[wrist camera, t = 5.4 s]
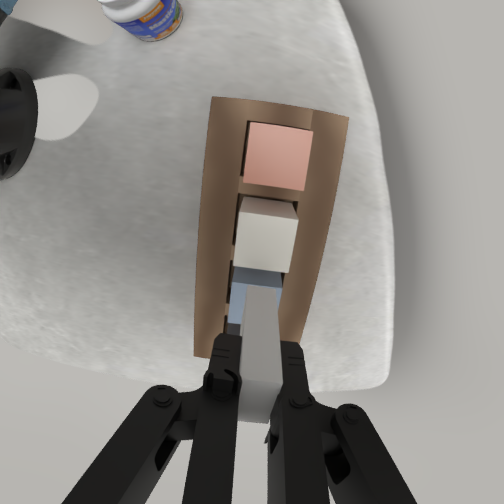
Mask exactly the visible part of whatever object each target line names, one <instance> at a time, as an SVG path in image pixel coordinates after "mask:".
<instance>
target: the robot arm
mask: <svg viewBox="0 0 504 504" xmlns="http://www.w3.org/2000/svg"><path fill="white" fill-rule="evenodd" d="M17 1H18V0H0V26H1V24H2V23H3V21H4V20H5V18H6V17H7V15H10V14H11V13H12V11H13V7H14V5H15V4H16V2H17ZM37 118H38V100H37V93H36V89H35V86H34V83H33V81H32V79H31V78H30V76H29V75H28V74H27V73H26V72H25V71H23V70H20V69H12V68H3V69H0V181H1V180H4V179H7V178H9V177H11V176H13V175H14V174H15V173H16V172H17V171H18V170H19V169H20V168H21V167H22V165H23V164H24V162H25V160H26V159H27V157H28V154H29V152H30V150H31V147H32V144H33V141H34V137H35V132H36V127H37ZM269 419H270V429H269V431H268V434H267V436H266V438H265V443H267V442H268V501H267V504H330V499H329V491H328V487H329V489H330V491H331V494H332V496H333V499H334V501H335V503H336V504H417V502H416V501H415V499H414V497H413V495H412V494H411V492H410V490H409V488H408V486H407V484H406V483H405V481H404V479H403V477H402V475H401V474H400V472H399V470H398V468H397V467H396V465H395V463H394V461H393V460H392V458H391V456H390V454H389V452H388V451H387V449H386V447H385V445H384V444H383V442H382V440H381V438H380V437H379V435H378V433H377V432H376V430H375V428H374V426H373V424H372V423H371V421H370V419H369V417H368V416H367V414H366V412H365V411H364V410H363V409H362V408H361V407H359V406H357V405H354V404H343V405H341V406H339V407H338V408H337V409H335V408H332V407H328V406H325V405H322V404H320V403H318V402H317V401H316V400H315V398H314V397H313V396H312V395H311V393H310V391H309V386H308V380H307V373H306V367H305V361H304V354H303V350H302V348H301V347H300V345H299V344H298V342H292V341H282V340H280V335H279V322H278V310H277V298H276V289H272V288H265V287H258V286H252V285H248V286H247V292H246V297H245V303H244V309H243V315H242V321H241V327H240V336H238V335H231V334H225V333H220V334H219V335H218V336H217V337H216V338H215V339H214V343H213V348H212V353H211V357H210V362H209V367H208V370H207V371H206V373H205V375H204V378H203V386H202V387H201V388H199V389H197V390H195V391H191V392H182V393H178V391H177V390H176V389H174V388H172V387H171V386H167V385H156V386H153V387H151V388H150V389H148V390H147V391H146V392H145V394H144V395H143V396H142V398H141V399H140V400H139V402H138V403H137V404H136V406H135V407H134V408H133V409H132V411H131V412H130V413H129V415H128V416H127V417H126V419H125V420H124V421H123V423H122V424H121V425H120V427H119V428H118V429H117V431H116V432H115V434H114V435H113V436H112V437H111V439H110V440H109V441H108V443H107V444H106V445H105V447H104V448H103V449H102V451H101V452H100V453H99V455H98V456H97V457H96V459H95V460H94V461H93V463H92V464H91V465H90V467H89V468H88V469H87V470H86V472H85V473H84V474H83V476H82V477H81V478H80V480H79V481H78V482H77V484H76V485H75V486H74V488H73V489H72V491H71V492H70V493H69V494H68V496H67V497H66V498H65V500H64V501H63V502H62V504H145V503H146V501H147V499H148V497H149V496H150V494H151V492H152V491H153V489H154V487H155V485H156V484H157V482H158V480H159V479H160V477H161V475H162V473H163V472H164V470H165V468H166V466H167V465H168V463H169V461H170V459H171V458H172V456H173V454H174V452H175V451H176V449H177V447H178V445H179V444H180V442H181V440H191V439H193V444H192V449H191V454H190V460H189V466H188V471H187V477H186V482H185V488H184V495H183V500H182V504H231V501H232V488H233V474H234V461H235V447H236V434H237V433H236V432H237V421H245V422H255V423H266V424H267V423H268V422H269Z"/></svg>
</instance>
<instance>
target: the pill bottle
mask: <svg viewBox="0 0 504 504" xmlns="http://www.w3.org/2000/svg"><path fill="white" fill-rule="evenodd" d="M97 1H99V2H100V3H101V4H102V10H103V13H104V14H105V15H106V16H107V17H108V18H109V19H110V20H112V21H113V22H115V23H116V24H118V25H120V26H121V27H123V28H124V29H126V30H127V31H129V32H130V33H131V34H133V35H135V36H136V37H138V38H139V39H142V40H145V41H157V40H160V39H163V38H165V37H167V36H168V35H170V34H171V33H172V32H174V31H175V30H176V28H177V27H178V26H179V24H180V22H181V20H182V15H183V12H182V8H181V6H180V4H179V3H178V1H177V0H97Z"/></svg>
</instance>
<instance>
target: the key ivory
mask: <svg viewBox="0 0 504 504" xmlns="http://www.w3.org/2000/svg"><path fill="white" fill-rule="evenodd" d="M297 226H298V217H297V215H296V212H295V210H294V208H293V205H292V203H289V202H282V201H275V200H268V199H261V198H253V197H245V196H244V197H243V201H242V204H241V208H240V211H239V218H238V227H237V235H236V244H235V253H234V262H233V266H238V267H246V268H253V269H261V270H269V271H277V272H285V273H288V272H289V267H290V262H291V257H292V252H293V247H294V242H295V237H296V231H297Z"/></svg>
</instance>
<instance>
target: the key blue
mask: <svg viewBox="0 0 504 504" xmlns="http://www.w3.org/2000/svg"><path fill="white" fill-rule="evenodd" d="M248 285H252V286H258V287H265V288H272V289H276V298H277V310H278V308H279V303H280V298H281V293H282V289H283V288H282V279H281V272H277V271H269V270H261V269H253V268H246V267H238V266H235V269H234V274H233V279H232V286H231V295H230V304H229V314H228V323H235V324H241V321H242V315H243V309H244V303H245V297H246V292H247V286H248Z"/></svg>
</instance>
